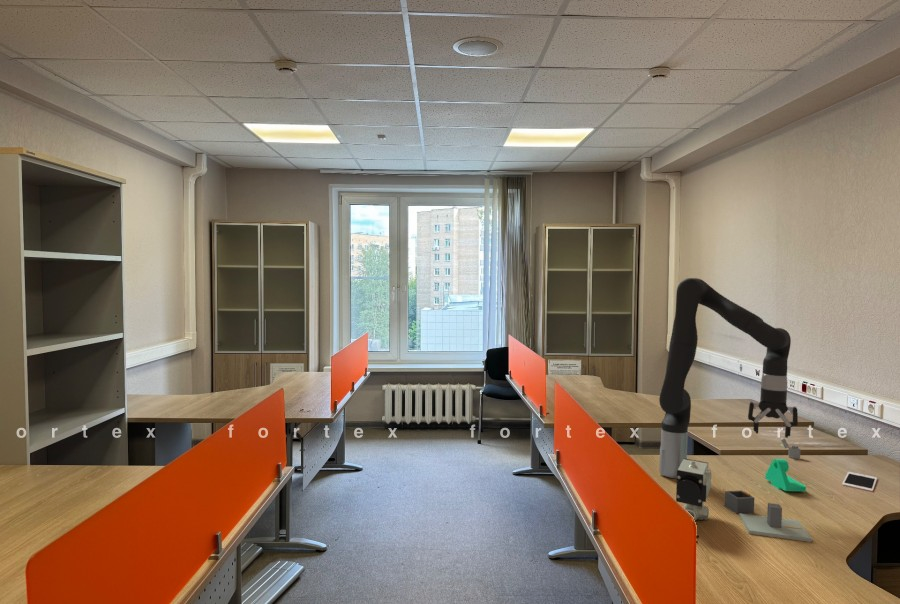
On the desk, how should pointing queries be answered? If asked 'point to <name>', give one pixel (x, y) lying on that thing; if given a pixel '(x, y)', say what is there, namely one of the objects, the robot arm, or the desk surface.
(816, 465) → the desk surface
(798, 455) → the lighter
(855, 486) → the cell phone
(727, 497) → the grey open box
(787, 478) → the camera mount
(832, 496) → the desk surface
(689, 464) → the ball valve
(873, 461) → the desk surface
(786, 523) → the grey base with post
